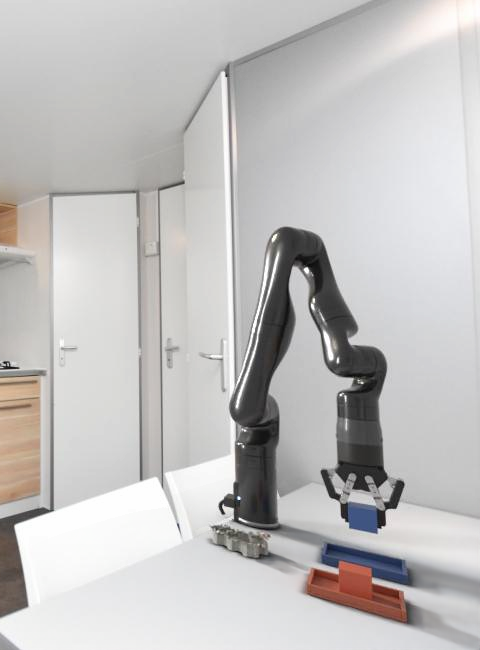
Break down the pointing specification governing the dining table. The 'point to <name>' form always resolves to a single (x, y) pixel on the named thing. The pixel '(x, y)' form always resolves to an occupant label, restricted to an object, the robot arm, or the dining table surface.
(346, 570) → the terracotta block
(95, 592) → the dining table surface
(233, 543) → the egg carton
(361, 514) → the blue block
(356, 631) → the dining table surface
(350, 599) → the terracotta tray
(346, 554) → the blue tray
